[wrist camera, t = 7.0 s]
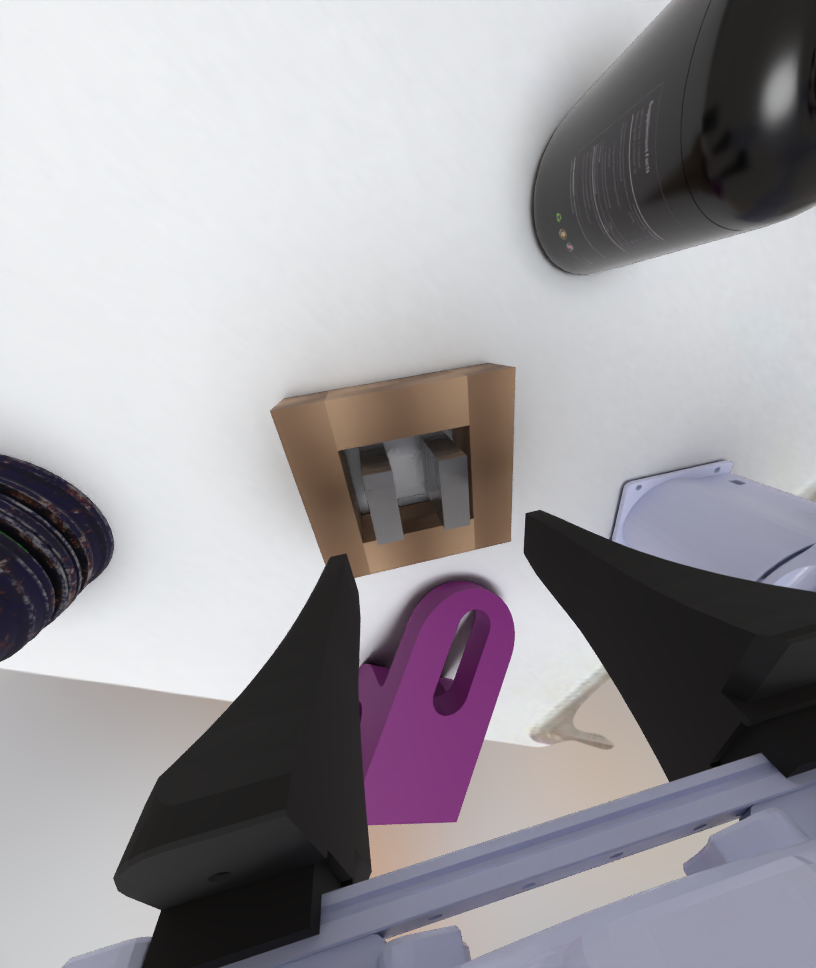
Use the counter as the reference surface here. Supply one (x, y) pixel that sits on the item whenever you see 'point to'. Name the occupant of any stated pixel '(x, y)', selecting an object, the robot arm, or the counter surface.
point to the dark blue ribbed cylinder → (44, 549)
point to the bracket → (415, 481)
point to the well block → (394, 415)
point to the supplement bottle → (685, 137)
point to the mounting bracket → (432, 707)
